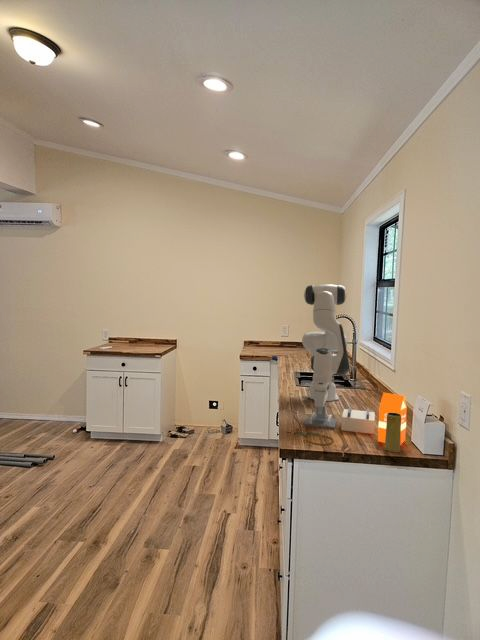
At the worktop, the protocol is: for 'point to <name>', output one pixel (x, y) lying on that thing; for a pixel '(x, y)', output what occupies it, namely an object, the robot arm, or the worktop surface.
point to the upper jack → (358, 421)
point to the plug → (321, 416)
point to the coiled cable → (315, 434)
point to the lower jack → (321, 422)
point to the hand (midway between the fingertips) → (321, 412)
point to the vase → (393, 432)
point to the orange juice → (391, 405)
